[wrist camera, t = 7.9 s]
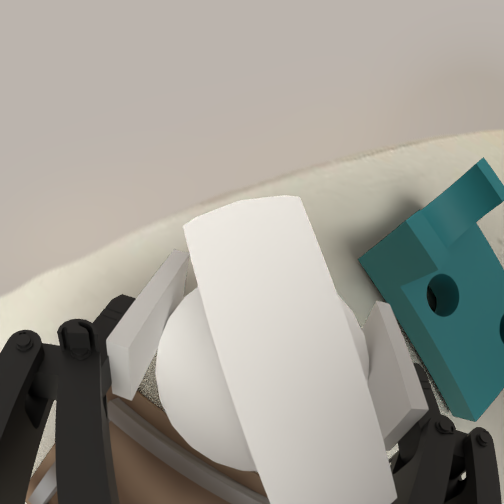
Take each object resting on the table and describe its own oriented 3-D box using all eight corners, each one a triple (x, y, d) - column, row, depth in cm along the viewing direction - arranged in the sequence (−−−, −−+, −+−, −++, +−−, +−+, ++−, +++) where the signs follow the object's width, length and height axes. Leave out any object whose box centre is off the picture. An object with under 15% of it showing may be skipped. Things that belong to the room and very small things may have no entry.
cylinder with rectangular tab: (345, 408, 17) (479, 449, 6) (204, 455, 16) (175, 572, 4) (301, 275, 20) (387, 168, 9) (160, 315, 18) (69, 247, 7)
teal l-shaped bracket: (352, 263, 27) (405, 220, 17) (426, 207, 29) (483, 157, 19) (445, 413, 23) (516, 431, 13) (505, 343, 25) (574, 334, 15)
